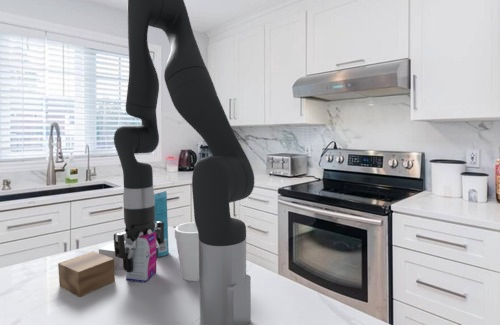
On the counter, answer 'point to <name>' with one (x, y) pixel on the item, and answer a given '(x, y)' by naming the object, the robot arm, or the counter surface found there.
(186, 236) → the foam cup
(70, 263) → the walnut block
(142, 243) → the supplement box
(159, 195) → the tube
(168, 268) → the counter surface
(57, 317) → the counter surface
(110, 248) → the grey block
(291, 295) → the counter surface
